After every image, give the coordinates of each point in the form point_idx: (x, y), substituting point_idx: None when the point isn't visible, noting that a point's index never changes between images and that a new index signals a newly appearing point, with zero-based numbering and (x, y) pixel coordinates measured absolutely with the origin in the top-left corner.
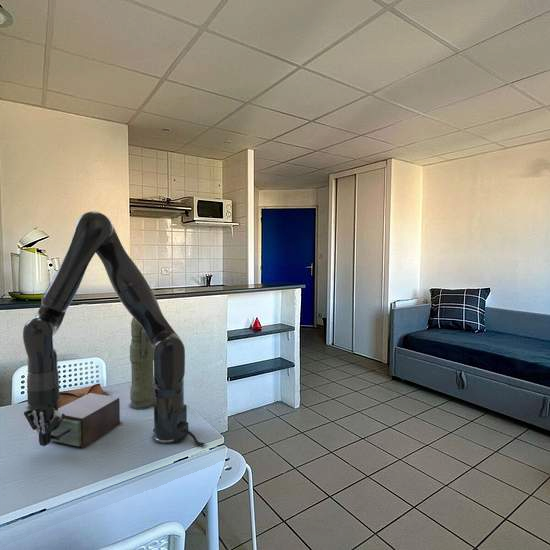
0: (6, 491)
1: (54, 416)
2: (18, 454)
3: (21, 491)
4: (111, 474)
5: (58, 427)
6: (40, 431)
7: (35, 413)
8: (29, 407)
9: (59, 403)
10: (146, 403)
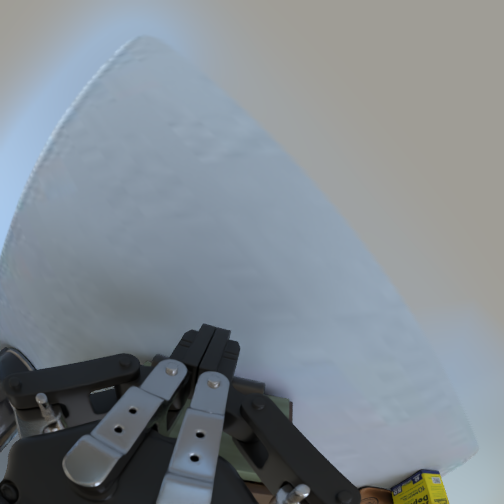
0: (216, 92)
1: (39, 420)
2: (360, 321)
3: (162, 104)
4: (14, 233)
5: (225, 435)
6: (199, 378)
7: (168, 496)
8: (436, 471)
9: (369, 499)
10: None
